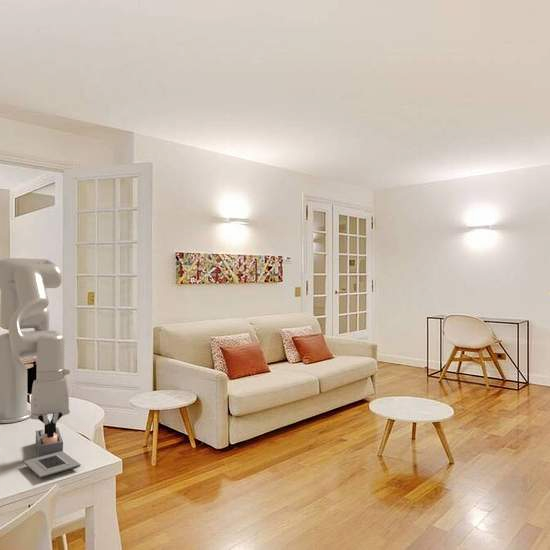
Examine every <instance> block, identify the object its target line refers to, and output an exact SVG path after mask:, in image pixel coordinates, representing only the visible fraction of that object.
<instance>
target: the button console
mask: <svg viewBox="0 0 550 550" xmlns="http://www.w3.org/2000/svg"><path fill="white" fill-rule="evenodd" d="M43 430H45V428H44V429H39V430H35V447H36V451H37V456H38V457H41V456H45V455H49V454H53V453H56V452H60V451H63V452H64V443H63V442H64V440H63V437H62V435H61V433H60V429H59V427H57V426H56V433H55V434H57V442H52V443H46V444H43V436H41V431H43Z"/></svg>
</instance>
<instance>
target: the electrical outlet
mask: <svg viewBox="0 0 550 550" xmlns="http://www.w3.org/2000/svg"><path fill="white" fill-rule="evenodd" d="M23 463H24V464H25V465H26V466H27V467H28V468H29V469H30V470H31V471H32V472H33V473H34V474H35V475H37V476H38V478H39V479H45V478H48V477H52V476H55V475H58V474H61V473H65V472H68V471H72V470H75V469H78V468H80V467H81V463H79V462H78V461H77V460H76V459H74V458H73V457H71V456H70V455H69V454H67V453H66V452H64V450H63V451H60V452H56V453H53V454H49V455H45V456H41V457H33V458H31V459H27V460H24V461H23Z"/></svg>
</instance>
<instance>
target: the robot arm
mask: <svg viewBox="0 0 550 550" xmlns="http://www.w3.org/2000/svg"><path fill="white" fill-rule="evenodd" d="M62 281H63V275H62V271H61V269H60V267H59V266H58V264H56V263H55V262H53V261H51V260H49V259H45V258H25V257H24V258H23V257H21V258H20V257H19V258H18V257H17V258H16V257H15V258H14V257H13V258H12V257H11V258H10V257H9V258H2V259H0V324H1V327H2V328H4V329H6V330H8V332H6V333H2V334H0V424H12V423H17V422H22V421H25V420H27V419H29V418H30V420H38V421H40V422H42V423H43V425H44V429H45V431H44V432H45V434H47V437H48V438H49V437H50V436H51V437H54V433H56V428H57V423H58V421H59V420H60V419H61V418H62V417H64V416H68V415H69V414H70V413H71V411H70V395H69V384H68V380H67V377H66V376H67V375H70V369H65V337H64V335H63V334H60V332H59V331H57V330H50V312H49V308H48V307H49V304H50V302H49V297H48V292H47V289H57V288H59V287H60V286H61V285H62ZM23 329H34V330H30V331H29V330H28V331H22V330H23ZM29 357H30V358H31V357H36V379H34V380H33V382H32V387H31V396H30V397H31V398H30V410H28V368H27V366H26V365H25V364H24V363H23V361H21V359H22V358H23V359H24V358H29ZM51 414H52V417H51V420H49V417H48V415H51Z"/></svg>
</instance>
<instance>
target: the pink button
mask: <svg viewBox="0 0 550 550" xmlns="http://www.w3.org/2000/svg"><path fill="white" fill-rule="evenodd" d="M52 442H57V434H55V433H54V437H51V436H50V437H49V438H48V437H47V434H46V435H44V436H43V444H46V443H52Z"/></svg>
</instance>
